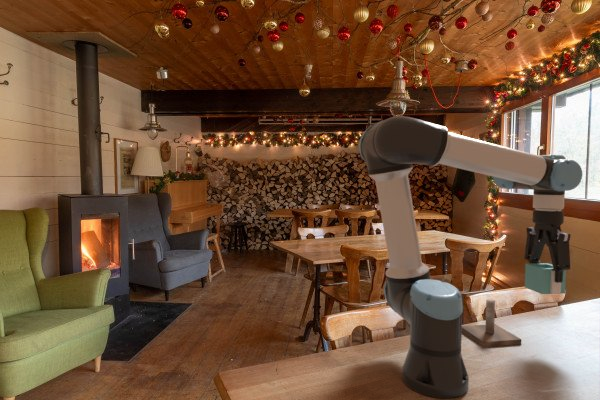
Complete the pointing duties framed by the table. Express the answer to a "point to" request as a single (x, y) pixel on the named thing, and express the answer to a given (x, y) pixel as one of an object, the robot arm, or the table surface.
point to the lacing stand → (490, 331)
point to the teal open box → (541, 278)
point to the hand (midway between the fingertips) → (544, 289)
